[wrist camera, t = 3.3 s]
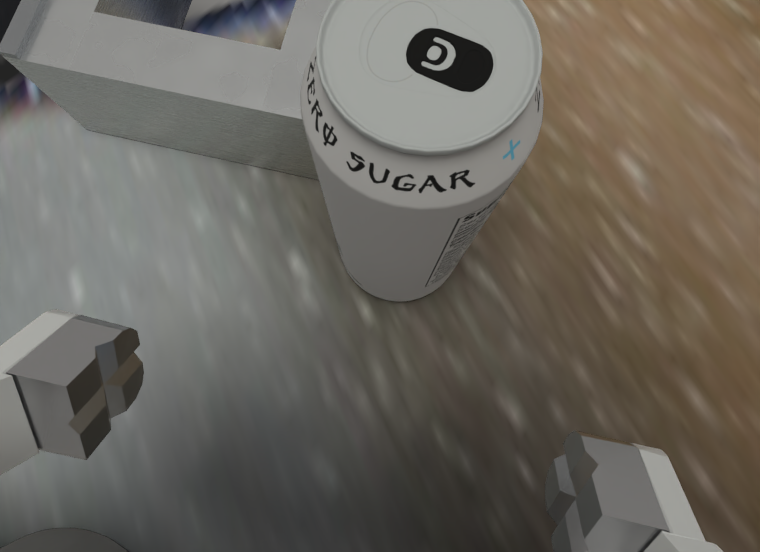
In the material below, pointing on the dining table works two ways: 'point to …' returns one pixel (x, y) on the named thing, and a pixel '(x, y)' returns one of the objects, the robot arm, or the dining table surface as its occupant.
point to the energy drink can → (418, 129)
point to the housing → (170, 77)
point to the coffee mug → (63, 542)
